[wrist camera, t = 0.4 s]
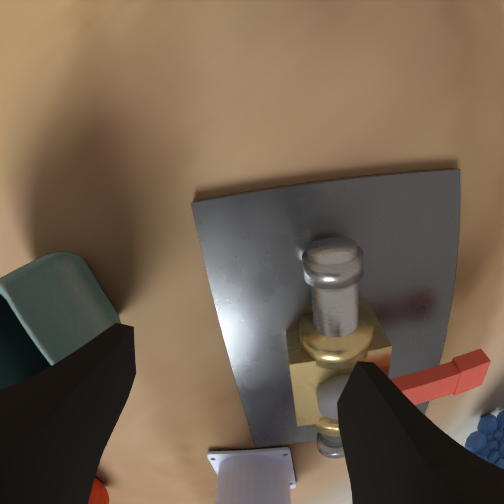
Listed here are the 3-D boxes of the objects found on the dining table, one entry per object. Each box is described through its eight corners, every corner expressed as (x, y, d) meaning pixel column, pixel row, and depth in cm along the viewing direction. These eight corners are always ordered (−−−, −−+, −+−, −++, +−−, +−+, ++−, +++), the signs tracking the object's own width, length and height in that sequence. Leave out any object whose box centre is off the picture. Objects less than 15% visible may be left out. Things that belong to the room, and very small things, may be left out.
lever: (317, 411, 18) (320, 433, 17) (315, 378, 17) (319, 401, 16) (468, 372, 18) (479, 389, 16) (478, 338, 16) (492, 355, 15)
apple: (55, 456, 31) (35, 497, 23) (101, 469, 30) (84, 516, 23) (78, 482, 34) (63, 520, 26) (122, 494, 33) (110, 536, 26)
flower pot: (89, 216, 18) (-4, 278, 10) (157, 329, 21) (112, 429, 13) (16, 265, 20) (-59, 325, 11) (76, 355, 22) (26, 433, 14)
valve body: (422, 411, 24) (437, 445, 20) (255, 442, 25) (255, 480, 21) (454, 168, 16) (497, 181, 12) (193, 200, 18) (172, 223, 13)
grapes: (433, 449, 27) (462, 528, 16) (454, 415, 25) (494, 502, 14) (502, 425, 27) (535, 488, 16) (523, 390, 24) (566, 455, 13)
